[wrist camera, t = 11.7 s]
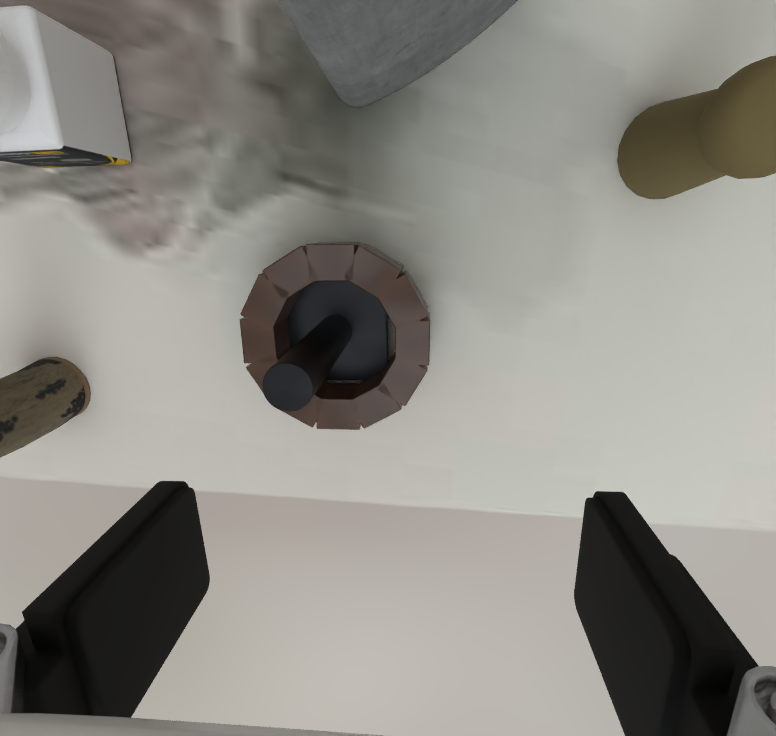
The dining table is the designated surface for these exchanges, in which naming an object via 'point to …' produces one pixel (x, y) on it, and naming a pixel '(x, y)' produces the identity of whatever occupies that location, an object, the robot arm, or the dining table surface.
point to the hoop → (374, 275)
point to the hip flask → (386, 39)
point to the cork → (704, 136)
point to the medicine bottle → (57, 95)
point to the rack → (328, 343)
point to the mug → (39, 401)
